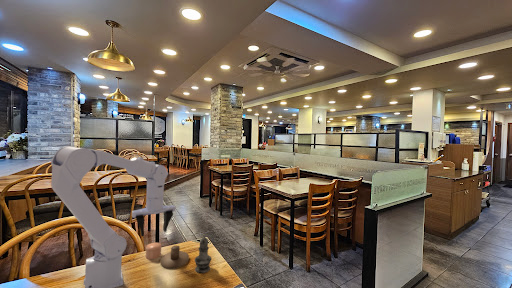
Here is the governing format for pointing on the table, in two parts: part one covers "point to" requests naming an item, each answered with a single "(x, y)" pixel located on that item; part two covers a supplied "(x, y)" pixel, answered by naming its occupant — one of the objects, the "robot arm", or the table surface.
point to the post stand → (174, 258)
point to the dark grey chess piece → (203, 257)
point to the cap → (153, 250)
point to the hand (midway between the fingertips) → (153, 232)
